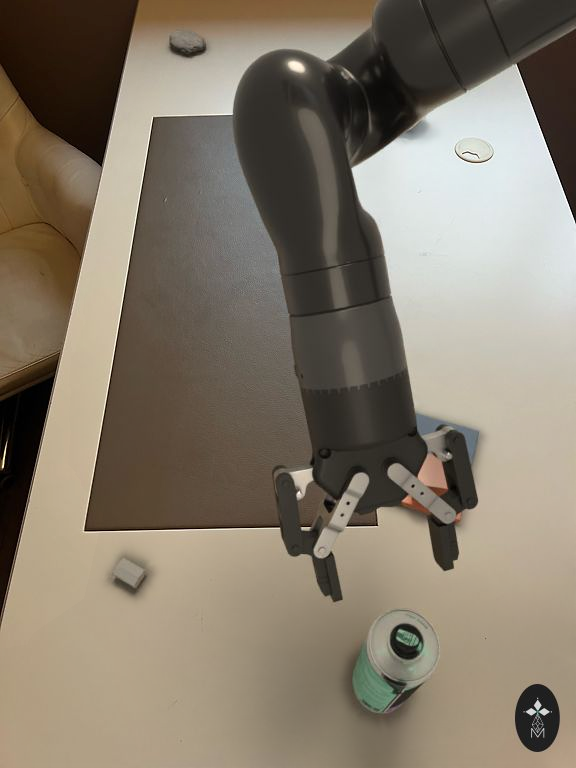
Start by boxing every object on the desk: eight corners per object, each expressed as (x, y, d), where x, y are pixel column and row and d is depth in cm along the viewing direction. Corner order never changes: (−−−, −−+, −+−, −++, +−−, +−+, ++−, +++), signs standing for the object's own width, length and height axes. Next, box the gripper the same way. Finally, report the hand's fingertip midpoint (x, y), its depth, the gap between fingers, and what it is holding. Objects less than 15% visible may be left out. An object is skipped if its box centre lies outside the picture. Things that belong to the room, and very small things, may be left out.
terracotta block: (448, 473, 72) (455, 457, 69) (447, 505, 70) (454, 490, 67) (413, 468, 73) (418, 452, 70) (411, 499, 71) (416, 484, 67)
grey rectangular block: (124, 560, 68) (120, 555, 67) (149, 570, 68) (146, 566, 66) (113, 580, 67) (109, 575, 66) (139, 591, 66) (135, 586, 65)
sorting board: (477, 435, 76) (480, 429, 75) (458, 523, 70) (460, 518, 69) (413, 416, 78) (414, 410, 77) (388, 501, 72) (390, 496, 70)
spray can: (413, 711, 60) (455, 675, 43) (356, 716, 60) (377, 682, 43) (402, 650, 63) (438, 595, 46) (348, 654, 63) (365, 601, 46)
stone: (194, 33, 131) (193, 22, 129) (211, 51, 127) (210, 40, 125) (164, 42, 129) (162, 31, 128) (180, 60, 125) (179, 49, 123)
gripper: (257, 404, 38) (308, 636, 42) (472, 353, 40) (505, 579, 43) (245, 384, 46) (289, 582, 49) (427, 341, 47) (458, 535, 51)
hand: (390, 580), depth 46 cm, fingers open, 8 cm apart
